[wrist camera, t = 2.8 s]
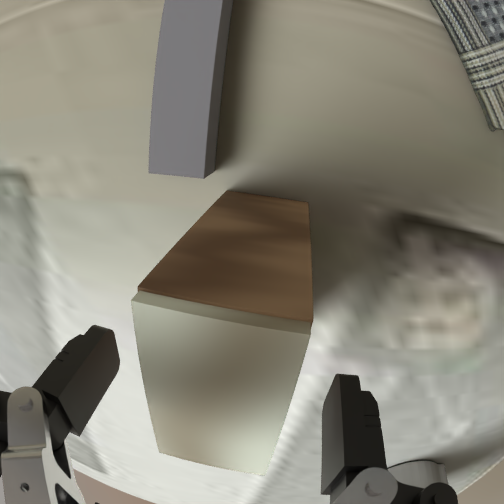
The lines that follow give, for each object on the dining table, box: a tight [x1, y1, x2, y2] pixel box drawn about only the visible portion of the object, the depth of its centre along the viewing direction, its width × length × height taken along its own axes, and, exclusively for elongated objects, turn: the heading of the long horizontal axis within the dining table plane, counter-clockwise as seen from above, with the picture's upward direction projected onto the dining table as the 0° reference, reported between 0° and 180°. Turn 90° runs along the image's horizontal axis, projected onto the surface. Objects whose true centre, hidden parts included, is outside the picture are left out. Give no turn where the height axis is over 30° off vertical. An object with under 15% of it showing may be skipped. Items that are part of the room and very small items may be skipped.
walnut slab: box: [131, 191, 313, 476], centre depth 14 cm, size 4×8×11 cm, turn 174°
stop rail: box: [149, 0, 233, 179], centre depth 13 cm, size 3×14×2 cm, turn 174°
